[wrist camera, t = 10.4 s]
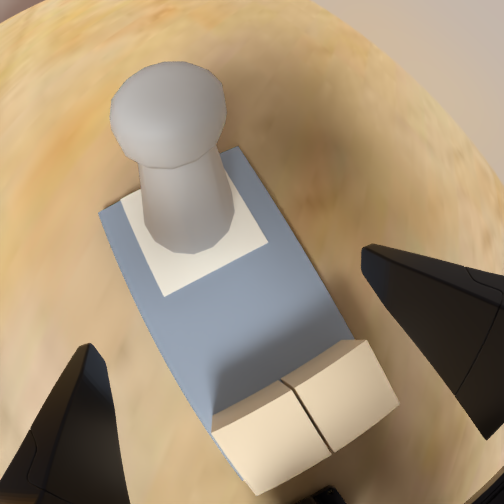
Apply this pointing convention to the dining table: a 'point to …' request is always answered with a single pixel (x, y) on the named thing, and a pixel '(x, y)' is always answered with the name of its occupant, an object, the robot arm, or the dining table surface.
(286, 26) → the dining table surface
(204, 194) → the salt shaker
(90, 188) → the dining table surface
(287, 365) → the board
